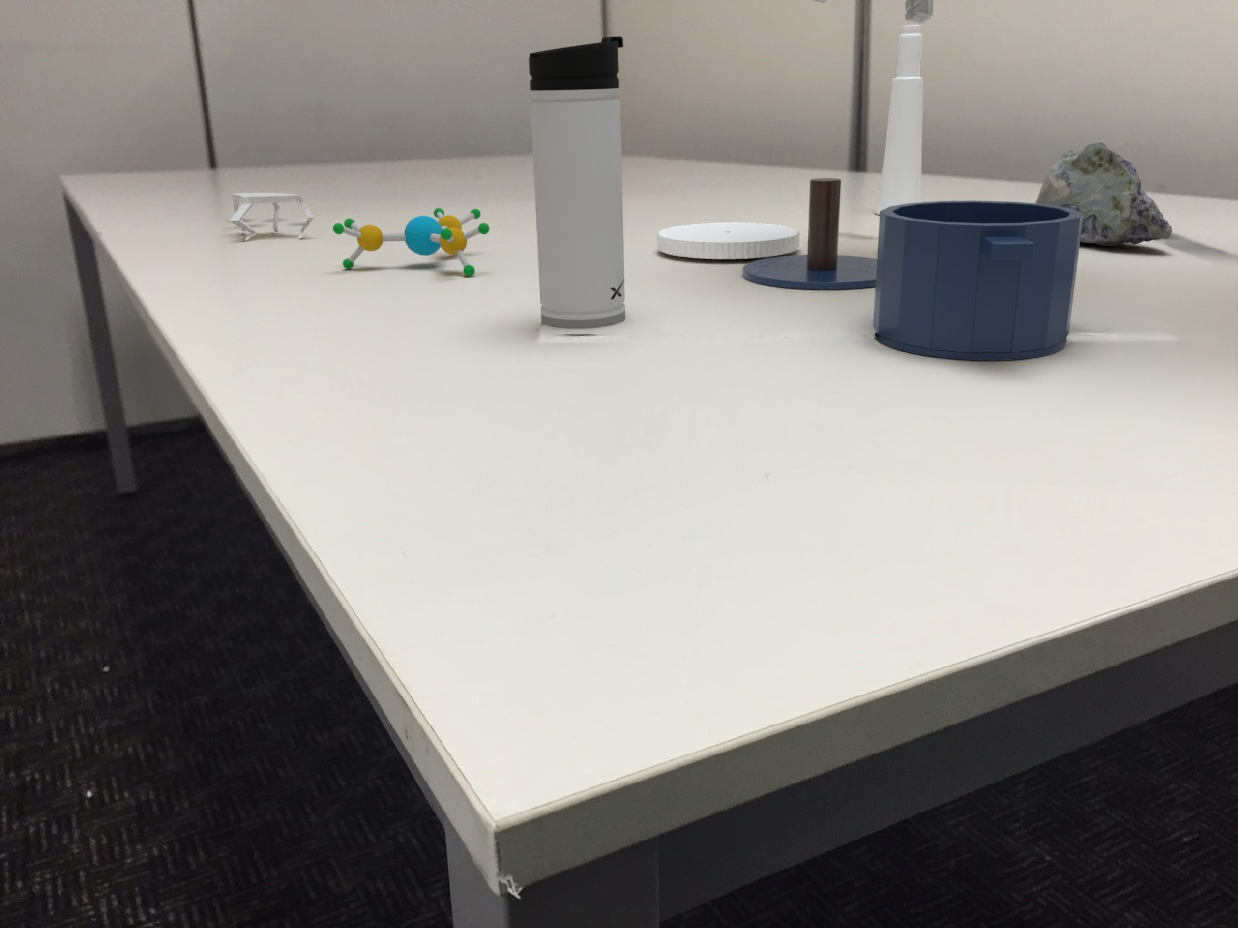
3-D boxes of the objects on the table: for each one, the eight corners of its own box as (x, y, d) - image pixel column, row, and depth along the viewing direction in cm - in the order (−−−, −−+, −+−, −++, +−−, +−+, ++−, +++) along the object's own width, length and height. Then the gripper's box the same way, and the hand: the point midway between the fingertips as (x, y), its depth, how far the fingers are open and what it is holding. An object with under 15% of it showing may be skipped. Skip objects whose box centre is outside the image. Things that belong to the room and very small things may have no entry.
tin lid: (888, 267, 100) (895, 171, 97) (915, 296, 87) (923, 186, 84) (740, 268, 101) (741, 173, 98) (744, 297, 88) (746, 189, 85)
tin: (1025, 309, 82) (1038, 195, 79) (1107, 371, 65) (1127, 230, 62) (858, 310, 83) (864, 197, 80) (896, 372, 66) (905, 232, 63)
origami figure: (208, 242, 125) (202, 199, 123) (241, 232, 133) (235, 191, 131) (306, 242, 124) (301, 198, 122) (333, 232, 131) (329, 190, 130)
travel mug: (642, 329, 78) (637, 35, 71) (556, 339, 76) (543, 36, 69) (611, 313, 84) (604, 38, 77) (530, 322, 81) (515, 39, 75)
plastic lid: (644, 268, 102) (643, 241, 101) (672, 245, 115) (672, 221, 114) (792, 271, 99) (792, 243, 98) (804, 247, 112) (805, 223, 111)
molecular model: (322, 268, 106) (395, 289, 95) (316, 218, 105) (390, 233, 94) (463, 249, 116) (545, 265, 105) (460, 203, 114) (542, 214, 103)
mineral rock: (1174, 255, 102) (1191, 146, 99) (1059, 256, 103) (1072, 148, 99) (1124, 235, 114) (1137, 137, 111) (1021, 237, 115) (1031, 139, 112)
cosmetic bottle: (934, 213, 134) (948, 24, 126) (898, 218, 131) (910, 24, 124) (899, 209, 139) (911, 26, 131) (864, 213, 136) (874, 26, 128)
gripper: (778, -214, 81) (776, -35, 80) (997, -150, 88) (997, 15, 87) (739, -165, 86) (737, 2, 86) (948, -109, 94) (947, 46, 93)
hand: (870, 9), depth 87 cm, fingers open, 8 cm apart
